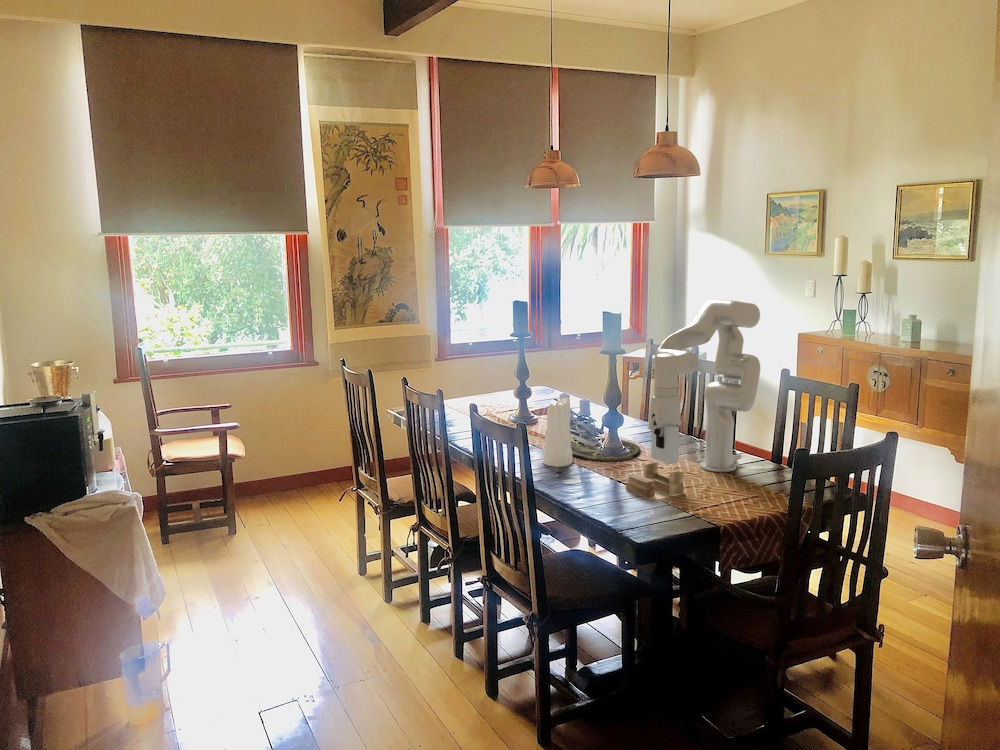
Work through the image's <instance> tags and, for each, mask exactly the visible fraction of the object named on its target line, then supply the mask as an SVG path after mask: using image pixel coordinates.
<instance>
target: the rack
mask: <svg viewBox="0 0 1000 750" xmlns="http://www.w3.org/2000/svg"><path fill="white" fill-rule="evenodd" d="M658 464H659V461H657V460H655V461H649V462H645V463H644V464H643V477H645V478H648V479H651V480H654V489H655V496H654V497H649V498H645V497H643V498H645V499H647V500H649V501H651V502H654V501H659V500H663V499H668V498H672V497H676V496H681V495H685V494H688V492H687V491H684V477H685V476H684V475H685V472H684V470H678V471H672V472H669V476H667V475H664V474H661V473H658V472H659V471H658V470H659V465H658ZM620 488H621V489H624V490H626V485H624V486H620ZM626 491H627V490H626ZM631 493H633V492H631ZM633 494H634V493H633ZM636 495H637V496H639V495H638V494H636Z"/></svg>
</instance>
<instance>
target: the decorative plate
mask: <svg viewBox="0 0 1000 750" xmlns="http://www.w3.org/2000/svg"><path fill="white" fill-rule="evenodd" d="M600 438H601V439H602V443H603V441H604V440H605V438H606V437H600ZM620 440H621V442H622V444H623V446H624V447H625V448H627V449H629V450H630V454H629V455H626V456H623V457H613V456H604V455H601V454H600V453H599V452H598V450H597V449H595V448H592V447H589V446H586V445H583V444H579V443H576V442H573V441H574V440H571V449H572V456H573V457H572V458H574V457H576V458H575V459H577V458H580V459H579V460H582V459H584V460H583V461H588V460H592V461H591V462H598V461H600V462H605V463H607V462H608V463H609V462H611V463H612V462H622V461H628V460H632V459H635V458H637V457H639V456H640V455H641V448H640V446H639V445H638V444H636V443H634V442H631V441H628V440H623V439H620Z"/></svg>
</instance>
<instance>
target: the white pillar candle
mask: <svg viewBox="0 0 1000 750" xmlns="http://www.w3.org/2000/svg"><path fill="white" fill-rule="evenodd" d="M571 441H572V434H571V402H570V399H569V396H565V397H561V398H560V399H557V401H555V402H553V403H549V406H548V407H547V410H546V429H545V432H544V448H543V450H542V463H543V464H544V465H546V466H549V467H555V468H556V467H557V468H559V467H567V466H570V465H571V464H573V457H572V449H571Z"/></svg>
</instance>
